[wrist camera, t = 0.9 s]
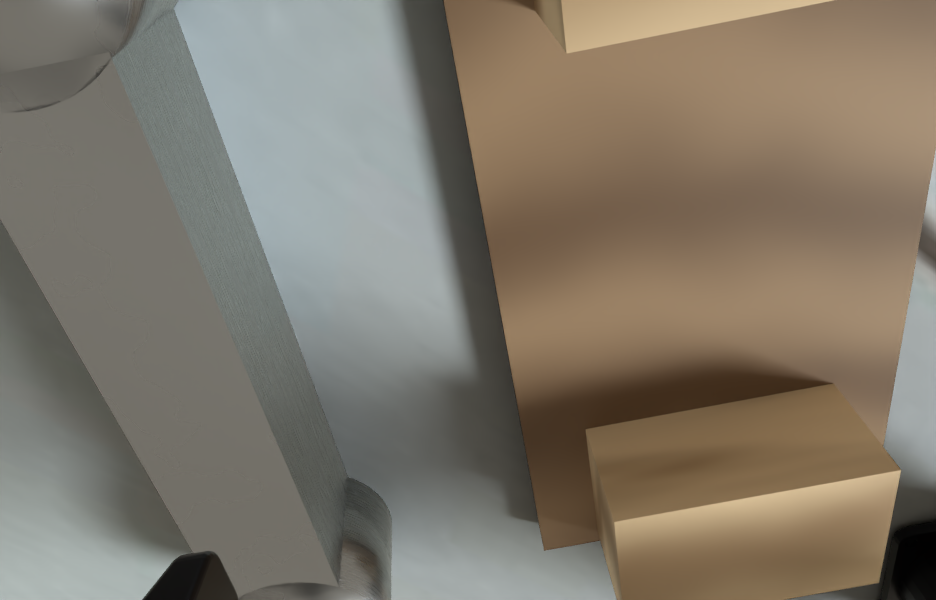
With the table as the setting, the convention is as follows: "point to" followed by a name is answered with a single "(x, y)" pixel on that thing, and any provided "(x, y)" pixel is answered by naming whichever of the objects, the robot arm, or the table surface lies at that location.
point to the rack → (704, 273)
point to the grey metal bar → (175, 296)
